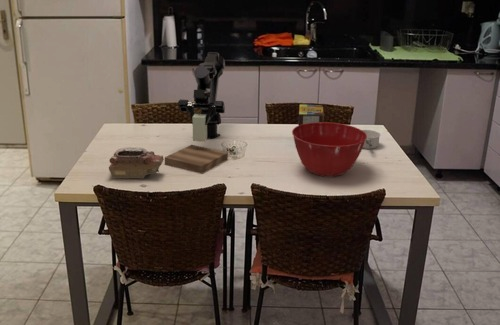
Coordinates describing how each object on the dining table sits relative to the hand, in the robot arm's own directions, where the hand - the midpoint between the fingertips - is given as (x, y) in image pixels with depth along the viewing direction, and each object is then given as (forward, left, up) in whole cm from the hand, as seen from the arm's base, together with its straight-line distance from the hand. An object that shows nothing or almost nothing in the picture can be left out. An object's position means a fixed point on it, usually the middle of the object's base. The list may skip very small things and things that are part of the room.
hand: (199, 124), depth 236 cm
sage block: (-1, -1, -7) cm, 7 cm away
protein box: (-40, +31, -14) cm, 52 cm away
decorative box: (+29, -8, -14) cm, 33 cm away
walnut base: (+6, +3, -14) cm, 15 cm away
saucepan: (-46, +55, -14) cm, 73 cm away
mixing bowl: (-14, +51, -14) cm, 54 cm away
